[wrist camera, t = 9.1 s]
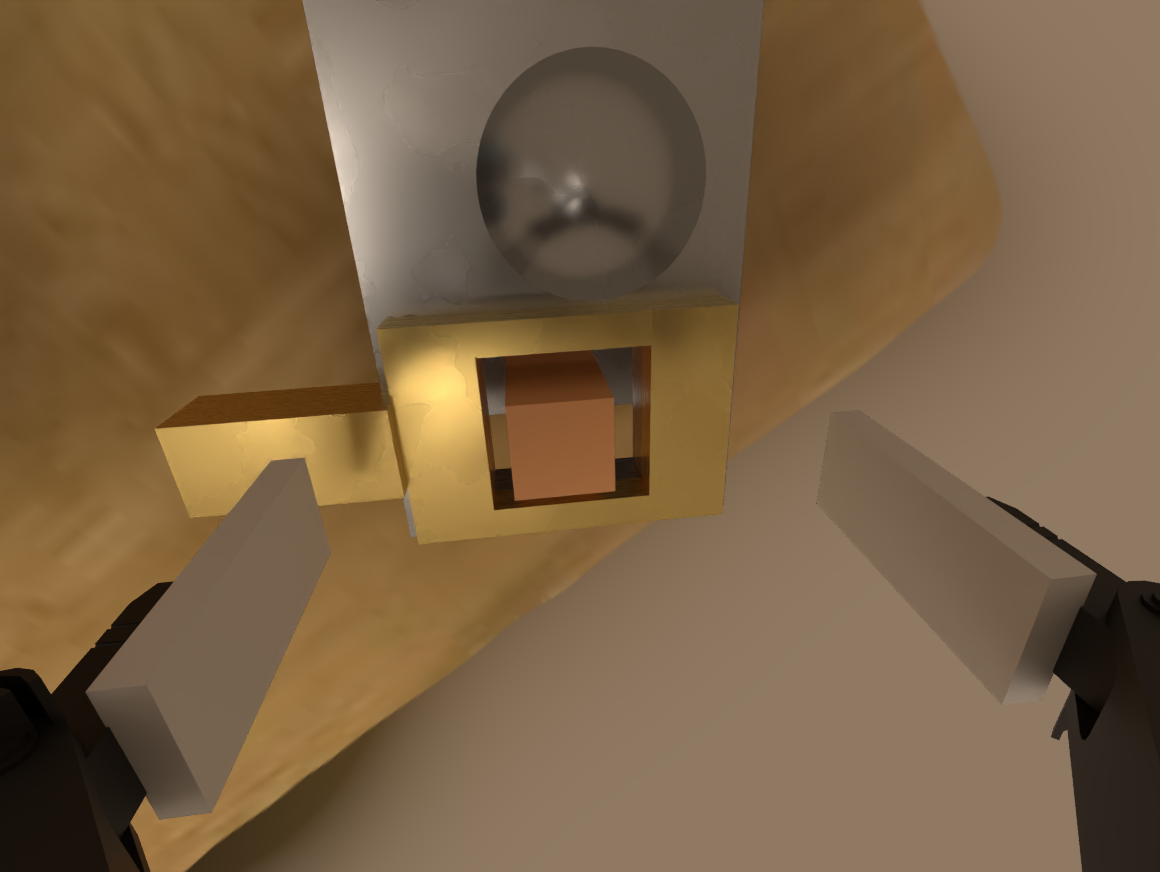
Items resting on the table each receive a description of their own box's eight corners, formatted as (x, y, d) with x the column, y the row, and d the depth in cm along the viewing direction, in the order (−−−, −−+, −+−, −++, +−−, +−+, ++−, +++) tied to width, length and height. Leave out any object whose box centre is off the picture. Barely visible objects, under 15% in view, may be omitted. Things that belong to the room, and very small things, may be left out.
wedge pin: (512, 384, 26) (514, 500, 17) (505, 318, 25) (505, 406, 16) (577, 379, 26) (615, 491, 17) (575, 314, 25) (613, 397, 16)
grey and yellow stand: (321, 438, 27) (76, 797, 12) (220, 49, 20) (-666, -316, 5) (681, 408, 29) (886, 691, 13) (696, 36, 22) (1144, -272, 7)
